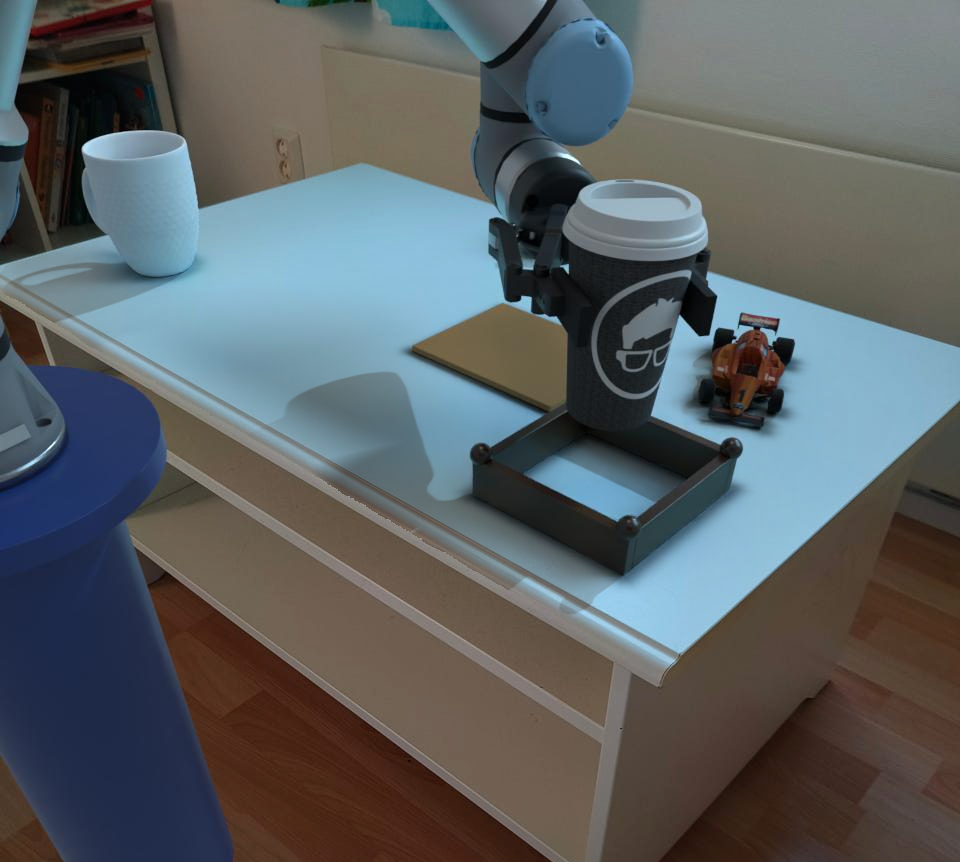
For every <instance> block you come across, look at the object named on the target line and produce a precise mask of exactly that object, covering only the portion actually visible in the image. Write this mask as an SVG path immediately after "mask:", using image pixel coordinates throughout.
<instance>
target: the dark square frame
mask: <svg viewBox="0 0 960 862" xmlns="http://www.w3.org/2000/svg"><path fill="white" fill-rule="evenodd" d="M586 433H588V434H589V435H592V436H594V437H597V438H599V439H601V440H603V441H605V442H607V443H610V444H612V445H615V446H617V447H619V448H621V449H624V450H626V451H628V452H630V453H632V454H635V455H637V456H639V457H641V458H643V459H646V460H648V461H650V462H652V463H654V464H657V465H658V466H661V467H663V468H666V469H668V470H670V471H672V472H674V473H677V474H679V475H681V476H684V477H686V478H687V479H686V480H684V481H683V482H682V483H680V484H679V485H678V486H676V487H675V488H674V489H672V490H670V492H668V493H667V494H666V495H664V496H663V497H662V498H660V499H659V500H658V501H656V502H655V503H654V504H653V505H651V506H650V507H648V508H647V509H646V510H645V511H643V512H642V513H640V514H639V515H638V516H636V515H632V514H626V515H623V516H621V517H620V518H619V519H618V520H615V519H614V518H612V517H609V516H608V515H606V514H604V513H602V512H600V511H597V510H596V509H594V508H592V507H589V506H587V505H586V504H583V503H581V502H580V501H577V500H575V499H573V498H571V497H569V496H567V495H566V494H563V493H561V492H560V491H557V490H555V489H553V488H551V487H550V486H547V485H545V484H544V483H541V482H539V481H537V480H535V479H533V478H531V477H529V476H527V475H525V474H523V473H525V472H526V471H528V470H530V469H532V468H533V467H535V466H536V465H538V464H539V463H541V462H542V461H544V460H546V459H547V458H549V457H550V456H552V455H553V454H555V453H556V452H558V451H560V450H561V449H563V448H564V447H566V446H567V445H569V444H570V443H572V442H574V441H575V440H576V439H578V438H580V437H581V436H583V435H585V434H586ZM743 452H744V445H743V442H742V441H741V440H740V439H739V438H737V437H733V436H731V437H726V438H725V439H724V440H722V441H721V443H720V444H719V443H717V442H715V441H713V440H711V439H708V438H706V437H703V436H701V435H698V434H695V433H694V432H691V431H689V430H686V429H684V428H682V427H679V426H677V425H674V424H672V423H670V422H667V421H664V420H662V419H660V418H657V417H655V416H653V415H651V417H650V418H649V420H648V421H647V422H646V423H645V424H643V425H641V426H639V427H637V428H633V429H629V430H622V431H609V430H601V429H596V428H592V427H589V426H586V425H584V424H582V423H580V422H578V421H577V420H575V419H574V418H573V417H572V416H571V415H570V414H569V413H568V411H567V408H566V402H565V403H564V404H562V405H560V406H559V407H557V408H555V409H554V410H552V411H550V412H547V413H545V414H543V415H542V416H540V417H539V418H537V419H535V420H533V421H532V422H530V423H529V424H527V425H526V426H524V427H522V428H520V429H519V430H516V431H514V432H513V433H512V434H510V435H509V436H507V437H505V438H504V439H502V440H500V441H499V442H497V443H495V444H494V445H492V446H490V445H489V444H488V443H485V442H477V443H474V444H473V445H472V446H471V448H470V450H469V459H470V461H471V462H472V482H471V483H472V484H471V485H472V491H471V492H472V494H471V495H472V496H473V497H476V498H477V499H479V500H481V501H483V502H485V503H487V504H489V505H491V506H492V507H495V508H496V509H498V510H500V511H502V512H504V513H506V514H508V515H509V516H512V517H513V518H515V519H518V521H521V522H523V523H524V524H527V525H528V526H530V527H531V528H534V529H535V530H538V531H540V532H542V533H543V534H545V535H547V536H549V537H551V538H552V539H555V540H557V541H558V542H560V543H562V544H564V545H566V546H568V547H570V548H572V549H573V550H575V551H576V552H579V553H581V554H584V555H585V556H587V557H589V558H590V559H592V560H594V561H596V562H598V563H600V564H602V565H604V566H605V567H608V568H609V569H612V570H613V571H615V572H617V573H619V574H621V575H622V576H625V575H627V573H628V572H630V571H631V570H632V569H633V568H635V567H636V566H637V565H638V564H640V563H641V562H642V561H644V559H646V558H648V556H650V555H651V554H652V553H653V552H654V551H656V550H657V549H659V547H660V546H661V545H663V544H664V543H666V542H667V541H668V540H669V539H671V537H673V536H674V535H675V534H677V533H678V532H679V531H680V530H682V529H683V528H684V527H685V526H686V525H688V524H690V522H691V521H693V520H694V519H695V518H697V516H699V515H700V514H701V513H703V511H705V510H706V509H707V508H708V507H710V506H711V505H712V504H713V503H715V502H716V501H717V500H718V499H719V498H721V497H723V496H724V494H725V493H727V492H728V491H729V490H730V489H731V487H732V481H733V479H734V478H733V477H734V474H735V470H736V465H737V461H738V459H739V458H740V457H741V456H742V454H743Z"/></svg>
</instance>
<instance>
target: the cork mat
mask: <svg viewBox="0 0 960 862" xmlns="http://www.w3.org/2000/svg"><path fill="white" fill-rule="evenodd" d="M567 335H568V333H567V332H566V330H565V329H564V327H563V326H562V324H559V323H556V322H554V321H551V320H548V319H546V318H543V317H541V316H539V315H537V314H533V313H530V312H527V311H526V310H522V309H520V308H518V307H515V306H512V305H510V304H507V303H504V302H501V303H499V304H497V305H495V306H493V307H490V308H489V309H487V310H484V311H482V312H480V313H478V314H476V315H473V316H472V317H470V318H468V319H465V320H463V321H462V322H459V323H457V324H455V325H453V326H451V327H448V328H447V329H444V330H442V331H439V332H438V333H435V334H433V335H431V336H429V337H427V338H425V339H422V340H421V341H419V342H417V343H415V344H412V346H411V351H412V352H413V353H416V354H418V355H421V356H423V357H425V358H426V359H430V360H432V361H434V362H436V363H437V364H441V365H443V366H445V367H447V368H450V369H452V370H454V371H456V372H459V373H461V374H463V375H465V376H468V377H470V378H471V379H475V380H477V381H479V382H481V383H484V384H486V385H488V386H489V387H492V388H495V389H496V390H499V391H501V392H503V393H506V394H508V395H511V396H512V397H515V398H517V399H519V400H521V401H524V402H526V403H528V404H530V405H532V406H535V407H537V408H539V409H541V410H544V411H546V412H547V413H549V412H550V411H552V410H554V409H555V408H557V407H559V406H560V405H562V404H564V403H565V402H566V384H567Z"/></svg>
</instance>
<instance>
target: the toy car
mask: <svg viewBox="0 0 960 862" xmlns="http://www.w3.org/2000/svg"><path fill="white" fill-rule="evenodd" d="M780 322H781V318H779V317H777V318H775V317H769V316H763V315H756V314H750V313H746V312H740V314H739V318H738V323H737V330H739V328H740V326H743V327H750V328H752V329H749V330H746V331H745V332H743V333H742V334H741V335H740V336H739V337H738V336H736V335H735V329H732V328H725V327H717V328H716V330H715V331H714V335H713V341H712V342H713V343H712V347H711V358H710V359H711V363H712V364H711V365H712V370H711V374H710V378H702V380H701V381H700V384H699V387H698V394H697V395H698V400H699V401H700V403H712V402H713V400H714V398H715V397H716V392H720V393H725V397H724V399H719V401H720V402H722V403H723V404H725V405H726V406H728V407H730V409H728V408H723V407H719V406H714V405H710V406H709V408H708V414H707V415H709V416H713V417H717V418H720V419H725V420H730V421H735V422H739V423H745V424H749V425H752V426H757V427H761V428H764V424H765V420H766V418H765V416H759V415H753V414H750V413H746V412H745V410H747V409H754V408H757V406H756V404H755V403H754V400H755V399H758V400H760V401H764V402H766V401H767V411H768V413H779V412H781V410H782V408H783V403H784V399H785V391H784V390H783V388H778V387H779V383H780V378H781V377H782V376H784V373H785V369H786V366H788V365H789V364H790V363H791V362H792V357H793V353H794V350H795V347H796V340H795V339H794V338H790V337H783V336H778V337H777V338H776V340H773V341H772V343H771V344H770V343H769V340H768V336H767V334H766V333H765V332H764V331H762V330H761V329H765V330H770V331H773V332H774V336H775V337H776V336H777V333H778V331H779V326H780ZM733 341H734V342H733ZM768 398H769V399H768ZM767 399H768V400H767Z"/></svg>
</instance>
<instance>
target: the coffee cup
mask: <svg viewBox="0 0 960 862" xmlns="http://www.w3.org/2000/svg"><path fill="white" fill-rule="evenodd" d="M562 229H563V233H564V235H565V236H566V237H567V238H568V239H569V264H568V274H569V276H570V277H571V278H572V280H573V281H574V282H575V284H576V285H577V286H578V288H579V289H580V291H581V292H582V293H583V295H584V296H585V297H586V299H587V300H588V301H589V303H590V304H591V305H592V314H591V323H590V333H589V342H588V347H580V348H577V347H576V345H575V344H574V342H573V341H572V339H571V338H570V336H569V335H567V384H566V408H567V411H568V413H569V414H570V415H571V416H572V417H573V418H574V419H575V420H577V421H578V422H580V423H582V424H584V425H586V426H589V427H592V428H596V429H601V430H609V431H622V430H629V429H633V428H637V427H639V426H641V425H643V424H645V423H646V422H647V421H648V420H649V418H650V417H651V416H652V413H653V410H654V408H655V407H654V406H655V402H656V399H657V396H658V392H659V390H660V389H659V388H660V385H661V382H662V378H663V374H664V371H665V367H666V364H667V360H668V357H669V353H670V350H671V347H672V343H673V339H674V337H675V336H674V335H675V332H676V328H677V325H678V322H679V318H680V311H681V308H682V304H683V301H684V298H685V294H686V291H687V287H688V284H689V280H690V277H691V273H692V270H693V267H694V263H695V260H696V257H697V253H698V252H700V251H701V250H703V249H704V248H705V247H706V248H707V245H708V242H709V231H708V225H707V220H706V219H705V217H704V216H703V205H702V201H701V200H700V199H699V197H698V196H696V195H695V194H694V193H692V192H690V191H688V190H685V189H684V188H681V187H678V186H675V185H672V184H668V183H663V182H658V181H652V180H646V179H645V180H643V179H624V178H623V179H611V180H610V179H609V180H601V181H597V183H594V184H591V185H588V186H586V187H584V188H583V189H582V190H581V191H580V192H579V195H578V197H577V200H576V203H575V204H574V205H573V206H572V207H571V208H570V210H569V212H568V214H567V216H566V218H565V221H564V224H563V227H562Z"/></svg>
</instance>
